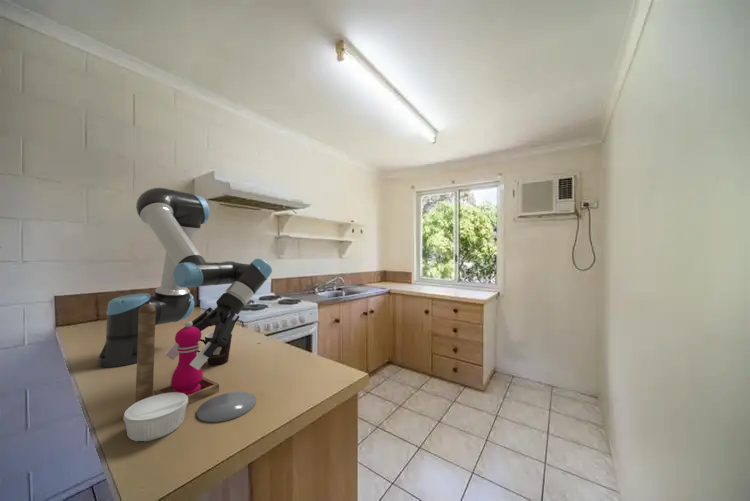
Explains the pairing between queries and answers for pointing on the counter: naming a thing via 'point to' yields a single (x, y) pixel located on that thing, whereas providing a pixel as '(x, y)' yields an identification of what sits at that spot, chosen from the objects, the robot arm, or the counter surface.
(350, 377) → the counter surface
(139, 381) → the wooden stand
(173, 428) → the ramekin
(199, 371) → the pepper mill
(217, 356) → the coffee mug
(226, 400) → the slate coaster
